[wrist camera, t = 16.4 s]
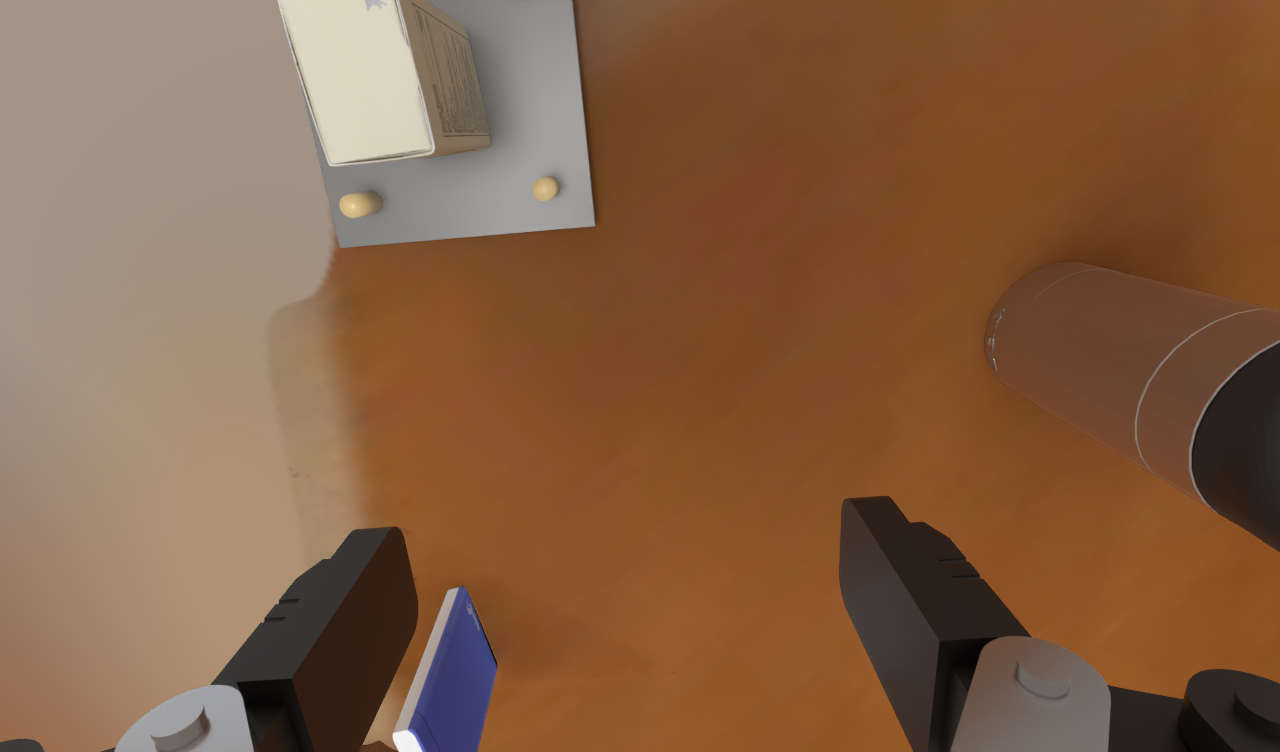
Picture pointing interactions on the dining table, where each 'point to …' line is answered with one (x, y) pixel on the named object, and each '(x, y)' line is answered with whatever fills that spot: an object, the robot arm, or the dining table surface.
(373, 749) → the plant
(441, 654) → the hard drive
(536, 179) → the standoff plate
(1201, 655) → the dining table surface
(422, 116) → the skincare box
